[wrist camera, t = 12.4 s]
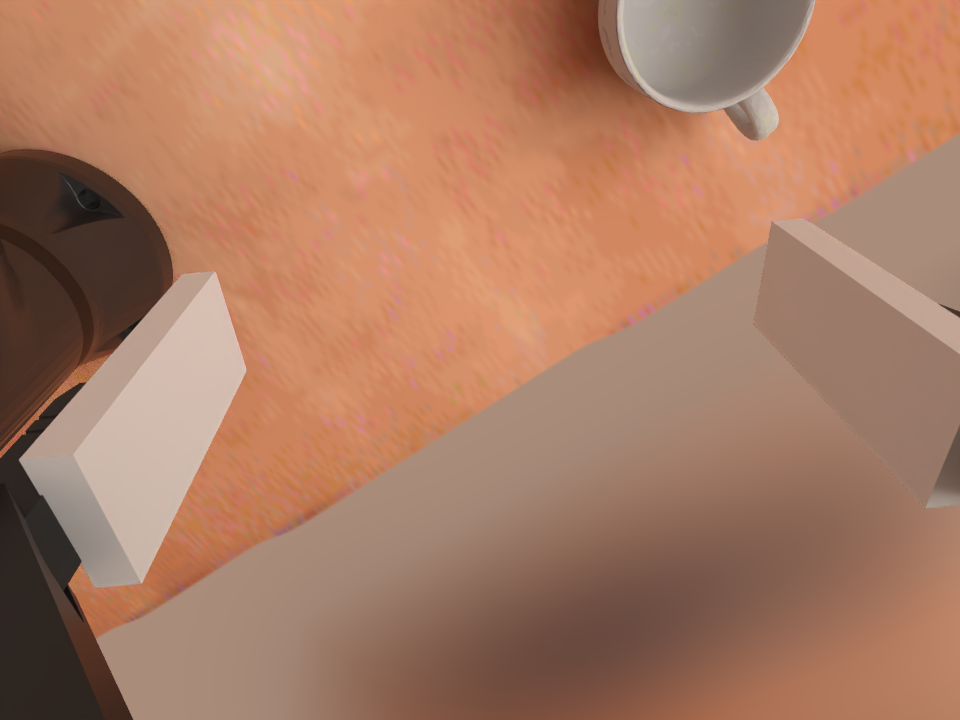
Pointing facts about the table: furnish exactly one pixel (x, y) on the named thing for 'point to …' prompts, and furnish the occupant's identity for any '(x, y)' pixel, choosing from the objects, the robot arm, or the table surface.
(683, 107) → the teacup
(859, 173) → the table surface
